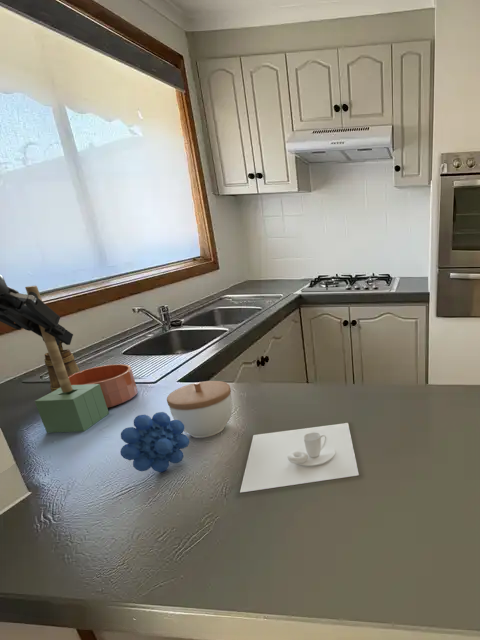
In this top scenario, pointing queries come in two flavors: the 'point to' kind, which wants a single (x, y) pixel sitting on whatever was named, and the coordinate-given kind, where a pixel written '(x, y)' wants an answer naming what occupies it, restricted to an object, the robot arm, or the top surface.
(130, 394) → the mixing bowl
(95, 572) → the top surface
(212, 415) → the lidded bowl
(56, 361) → the stick
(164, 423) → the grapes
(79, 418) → the stick stand
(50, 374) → the wooden barrel with disc
